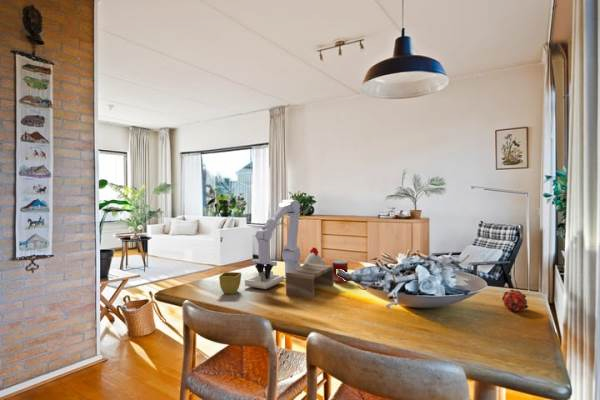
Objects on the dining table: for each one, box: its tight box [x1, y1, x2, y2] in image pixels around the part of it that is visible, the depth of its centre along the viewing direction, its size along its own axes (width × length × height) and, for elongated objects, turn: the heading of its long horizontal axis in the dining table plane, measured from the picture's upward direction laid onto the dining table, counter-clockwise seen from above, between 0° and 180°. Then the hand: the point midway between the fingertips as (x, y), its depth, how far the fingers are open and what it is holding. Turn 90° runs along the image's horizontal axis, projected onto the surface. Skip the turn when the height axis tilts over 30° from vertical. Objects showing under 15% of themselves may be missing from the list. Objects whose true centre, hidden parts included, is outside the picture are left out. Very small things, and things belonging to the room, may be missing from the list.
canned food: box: [332, 259, 349, 284], centre depth 183 cm, size 8×8×11 cm
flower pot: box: [218, 271, 242, 295], centre depth 165 cm, size 9×9×9 cm
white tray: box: [244, 270, 284, 290], centre depth 176 cm, size 16×13×6 cm
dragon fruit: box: [501, 289, 529, 312], centre depth 137 cm, size 8×8×12 cm
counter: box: [285, 263, 335, 300], centre depth 168 cm, size 24×14×10 cm, turn 151°
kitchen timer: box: [302, 247, 326, 266], centre depth 204 cm, size 14×14×15 cm
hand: (264, 278), depth 176 cm, fingers closed on white tray, 3 cm apart
